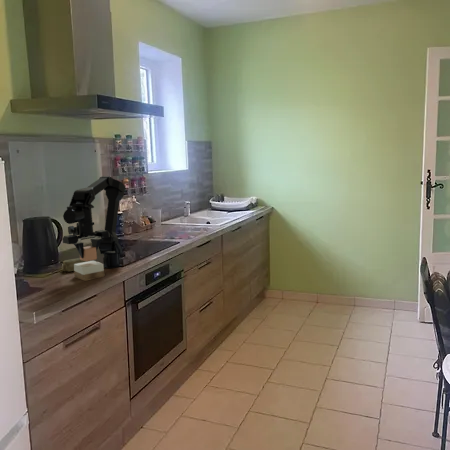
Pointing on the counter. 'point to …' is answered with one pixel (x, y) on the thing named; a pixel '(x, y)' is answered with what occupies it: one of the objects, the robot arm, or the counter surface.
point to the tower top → (88, 267)
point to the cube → (89, 253)
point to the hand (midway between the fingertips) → (88, 257)
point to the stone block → (71, 264)
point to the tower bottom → (89, 275)
